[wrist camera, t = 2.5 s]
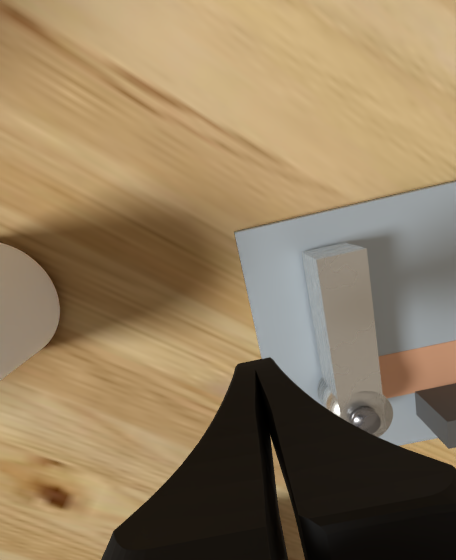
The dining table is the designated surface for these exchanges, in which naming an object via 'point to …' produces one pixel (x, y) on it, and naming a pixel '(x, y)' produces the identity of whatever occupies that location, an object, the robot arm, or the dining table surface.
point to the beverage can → (24, 308)
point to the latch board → (385, 295)
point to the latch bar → (346, 336)
